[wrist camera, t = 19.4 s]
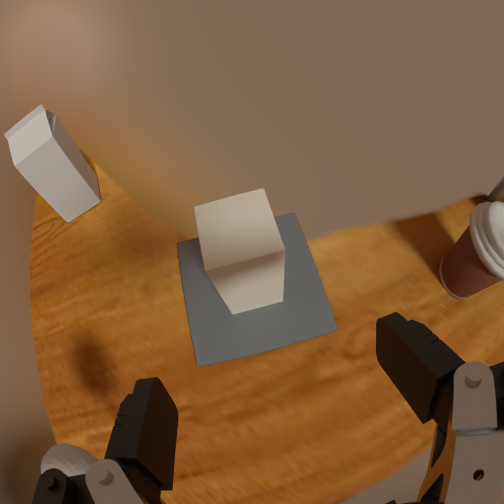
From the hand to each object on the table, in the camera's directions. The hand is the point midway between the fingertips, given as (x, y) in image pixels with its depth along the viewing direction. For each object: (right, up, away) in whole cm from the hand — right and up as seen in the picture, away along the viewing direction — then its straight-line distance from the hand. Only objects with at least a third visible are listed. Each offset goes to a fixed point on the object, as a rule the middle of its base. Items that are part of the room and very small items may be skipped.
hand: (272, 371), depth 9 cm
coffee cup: (+26, +1, +20) cm, 33 cm away
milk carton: (-29, +13, +31) cm, 45 cm away
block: (-1, +1, +21) cm, 21 cm away
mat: (-1, 0, +22) cm, 22 cm away
